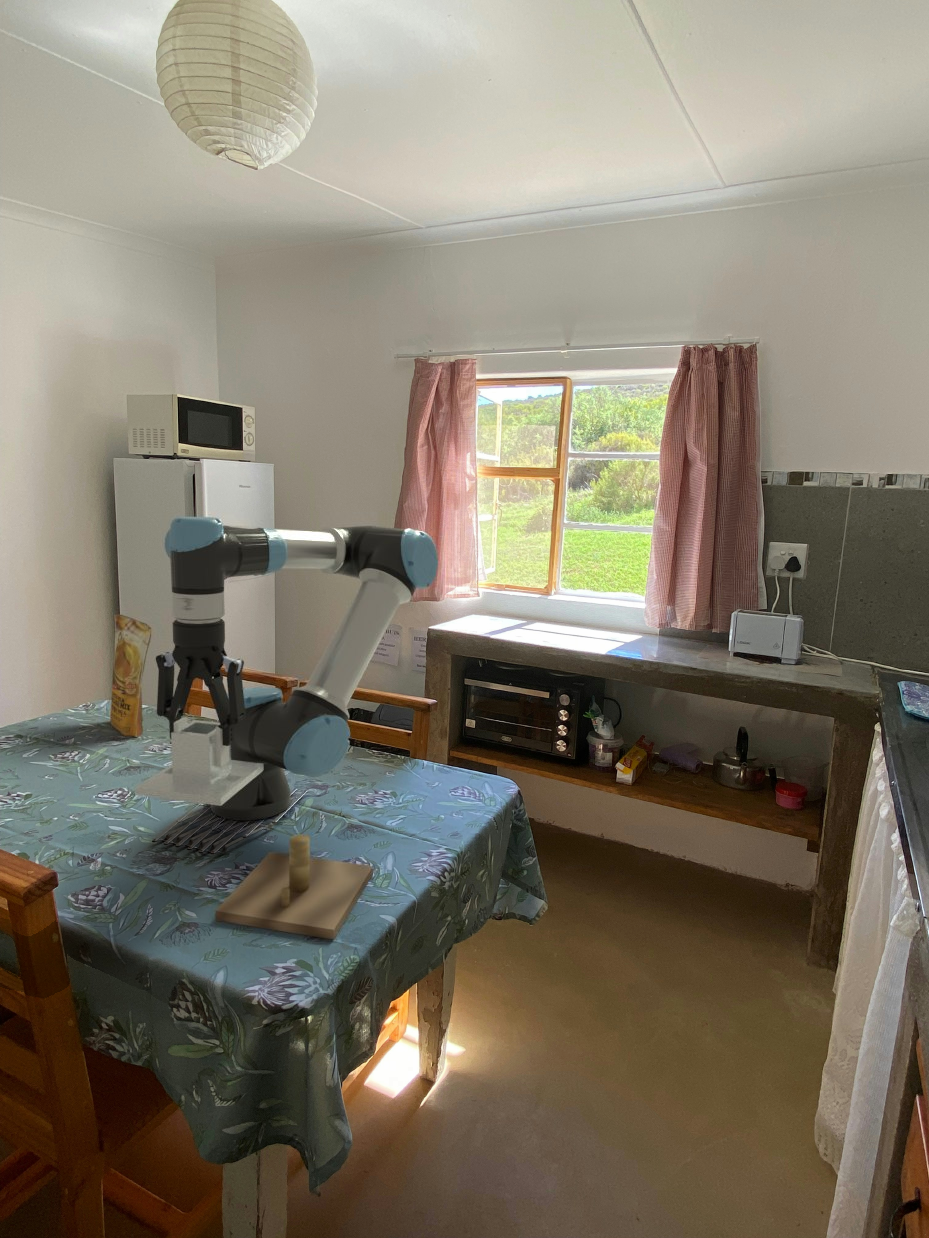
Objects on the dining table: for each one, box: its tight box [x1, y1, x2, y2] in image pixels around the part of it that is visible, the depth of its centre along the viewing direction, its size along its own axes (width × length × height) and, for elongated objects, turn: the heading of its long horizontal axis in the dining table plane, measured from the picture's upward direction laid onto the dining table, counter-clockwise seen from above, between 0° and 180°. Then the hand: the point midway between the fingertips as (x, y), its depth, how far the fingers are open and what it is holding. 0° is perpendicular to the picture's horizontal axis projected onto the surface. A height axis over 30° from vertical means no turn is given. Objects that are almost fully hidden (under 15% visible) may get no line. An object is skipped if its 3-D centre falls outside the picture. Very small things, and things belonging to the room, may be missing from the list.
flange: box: [135, 719, 264, 806], centre depth 115 cm, size 14×14×9 cm
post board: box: [214, 833, 374, 940], centre depth 111 cm, size 18×18×10 cm
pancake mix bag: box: [109, 613, 153, 738], centre depth 180 cm, size 7×19×28 cm, turn 42°
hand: (202, 761), depth 115 cm, fingers closed on flange, 6 cm apart
